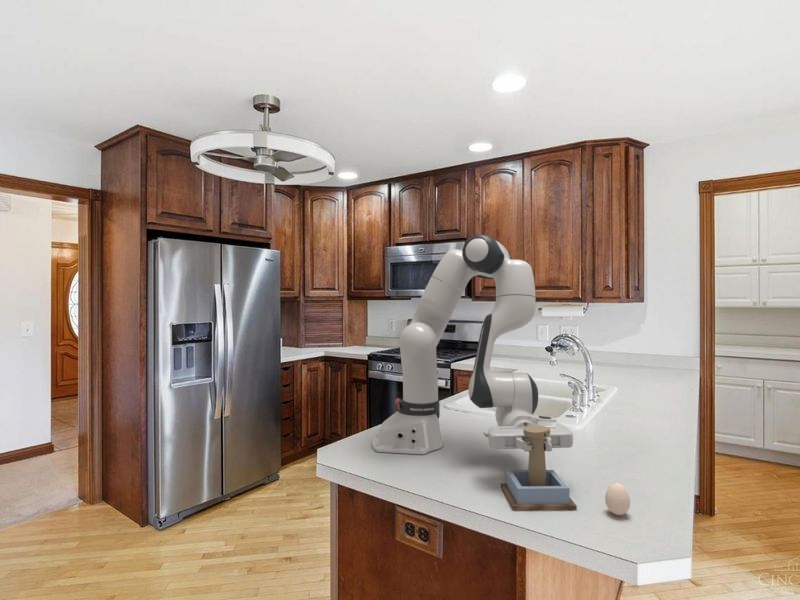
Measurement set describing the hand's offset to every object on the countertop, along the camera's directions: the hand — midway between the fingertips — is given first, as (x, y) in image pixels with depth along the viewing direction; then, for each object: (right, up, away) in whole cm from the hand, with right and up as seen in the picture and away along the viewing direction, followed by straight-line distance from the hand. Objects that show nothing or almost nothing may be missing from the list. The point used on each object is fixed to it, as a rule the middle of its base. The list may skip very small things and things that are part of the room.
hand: (538, 448), depth 104 cm
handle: (0, -11, +2) cm, 11 cm away
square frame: (0, -12, +1) cm, 12 cm away
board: (0, -12, +1) cm, 12 cm away
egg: (+15, -12, -7) cm, 20 cm away
